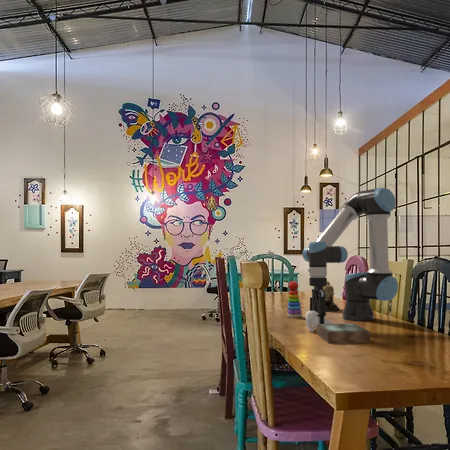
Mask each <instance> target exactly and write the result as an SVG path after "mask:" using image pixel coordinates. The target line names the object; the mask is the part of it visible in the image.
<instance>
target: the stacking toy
mask: <svg viewBox="0 0 450 450" xmlns="http://www.w3.org/2000/svg"><path fill="white" fill-rule="evenodd" d="M298 288H299V284H298V282H297V281H296V280H295V281H294V280H292V281H290V282H289V283H288V289H289V291H288V296H287V297H288V298H287V299H288V302H287V314H286V316H287V318H291V319H299V318H302V317H303V314H302V312H303V311H302V306H301V305H302V303H301V302H300V299H301V298H299V297H300V295H299V290H298Z"/></svg>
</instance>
